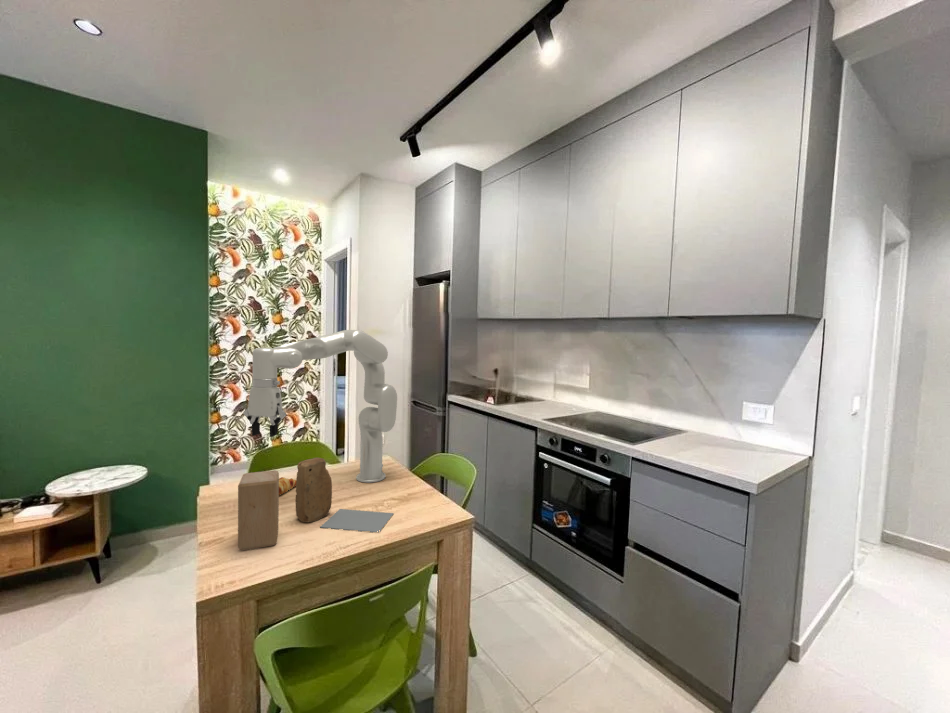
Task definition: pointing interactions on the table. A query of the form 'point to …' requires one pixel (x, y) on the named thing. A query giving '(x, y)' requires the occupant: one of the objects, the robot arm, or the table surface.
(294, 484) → the croissant
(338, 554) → the table surface
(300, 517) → the brown rounded lump
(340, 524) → the mat
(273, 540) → the wooden block
